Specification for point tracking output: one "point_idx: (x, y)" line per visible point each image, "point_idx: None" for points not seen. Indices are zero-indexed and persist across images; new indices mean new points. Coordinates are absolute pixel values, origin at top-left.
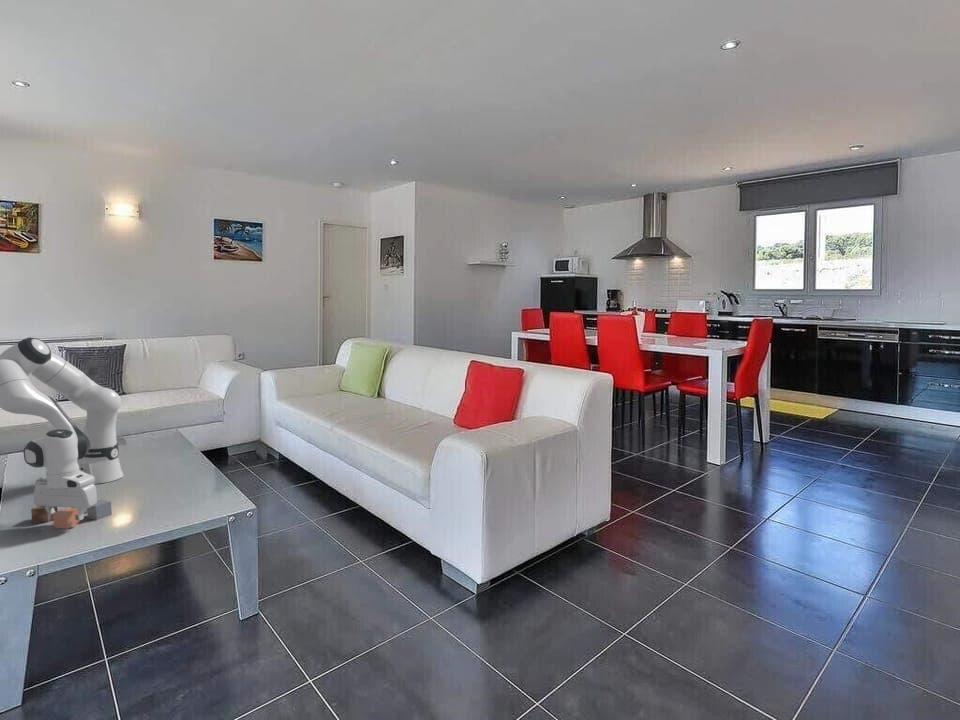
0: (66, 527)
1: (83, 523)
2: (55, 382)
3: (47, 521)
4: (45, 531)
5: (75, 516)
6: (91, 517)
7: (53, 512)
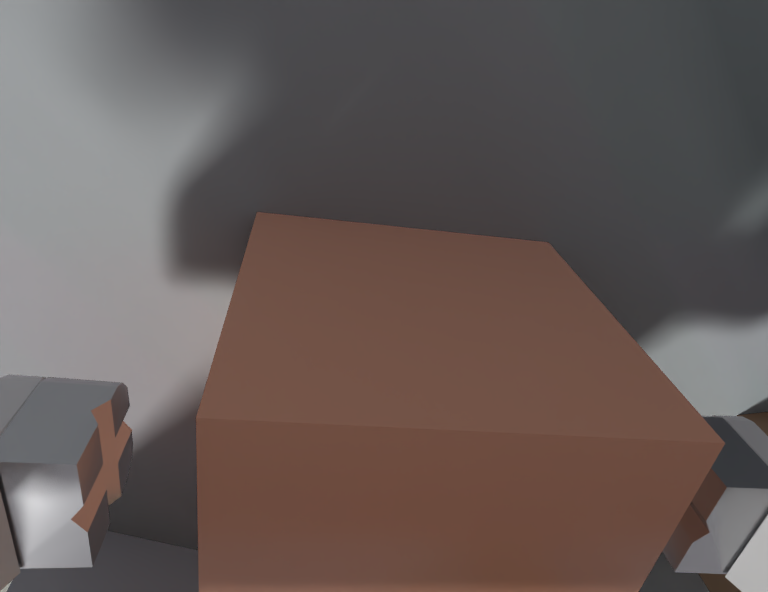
0: (289, 222)
1: (152, 409)
2: None
3: (757, 424)
4: (619, 59)
5: (84, 438)
6: (183, 564)
7: (753, 545)
